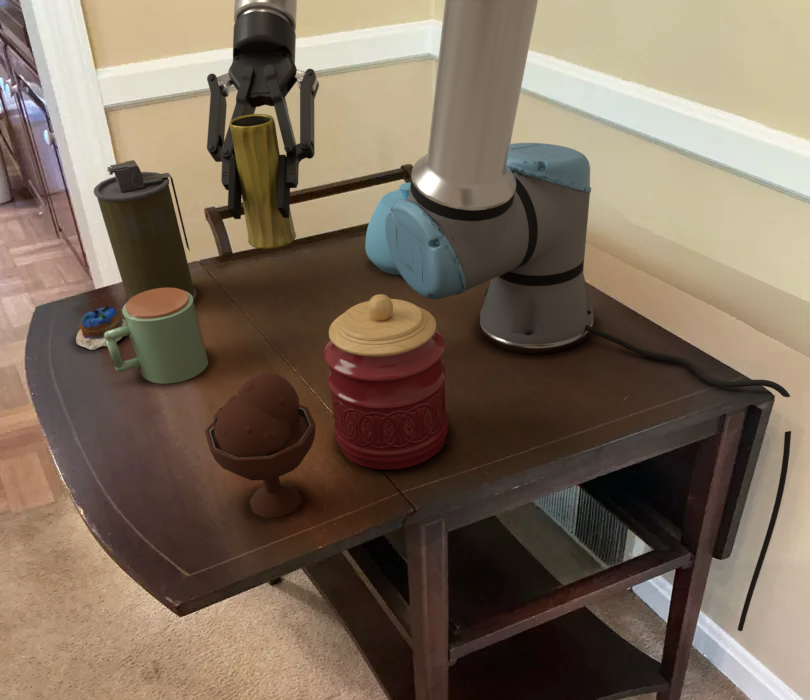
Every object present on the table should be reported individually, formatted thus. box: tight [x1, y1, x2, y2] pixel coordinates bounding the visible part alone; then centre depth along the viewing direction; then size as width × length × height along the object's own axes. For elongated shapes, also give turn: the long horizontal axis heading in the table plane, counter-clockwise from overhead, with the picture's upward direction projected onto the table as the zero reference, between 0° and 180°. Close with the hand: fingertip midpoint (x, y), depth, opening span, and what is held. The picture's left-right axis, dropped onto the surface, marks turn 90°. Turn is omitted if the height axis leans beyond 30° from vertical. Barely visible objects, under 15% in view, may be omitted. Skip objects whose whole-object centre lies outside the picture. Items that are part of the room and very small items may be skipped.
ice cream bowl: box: [204, 371, 317, 519], centre depth 85 cm, size 11×11×15 cm
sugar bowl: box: [364, 181, 411, 276], centre depth 131 cm, size 15×15×12 cm
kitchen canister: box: [323, 293, 449, 471], centre depth 92 cm, size 13×13×18 cm
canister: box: [93, 159, 197, 301], centre depth 123 cm, size 11×10×20 cm
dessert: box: [75, 305, 126, 351], centre depth 121 cm, size 8×7×6 cm
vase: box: [228, 113, 297, 250], centre depth 103 cm, size 6×6×14 cm
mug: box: [104, 288, 209, 385], centre depth 110 cm, size 9×12×9 cm
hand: (258, 213), depth 102 cm, fingers closed on vase, 5 cm apart
